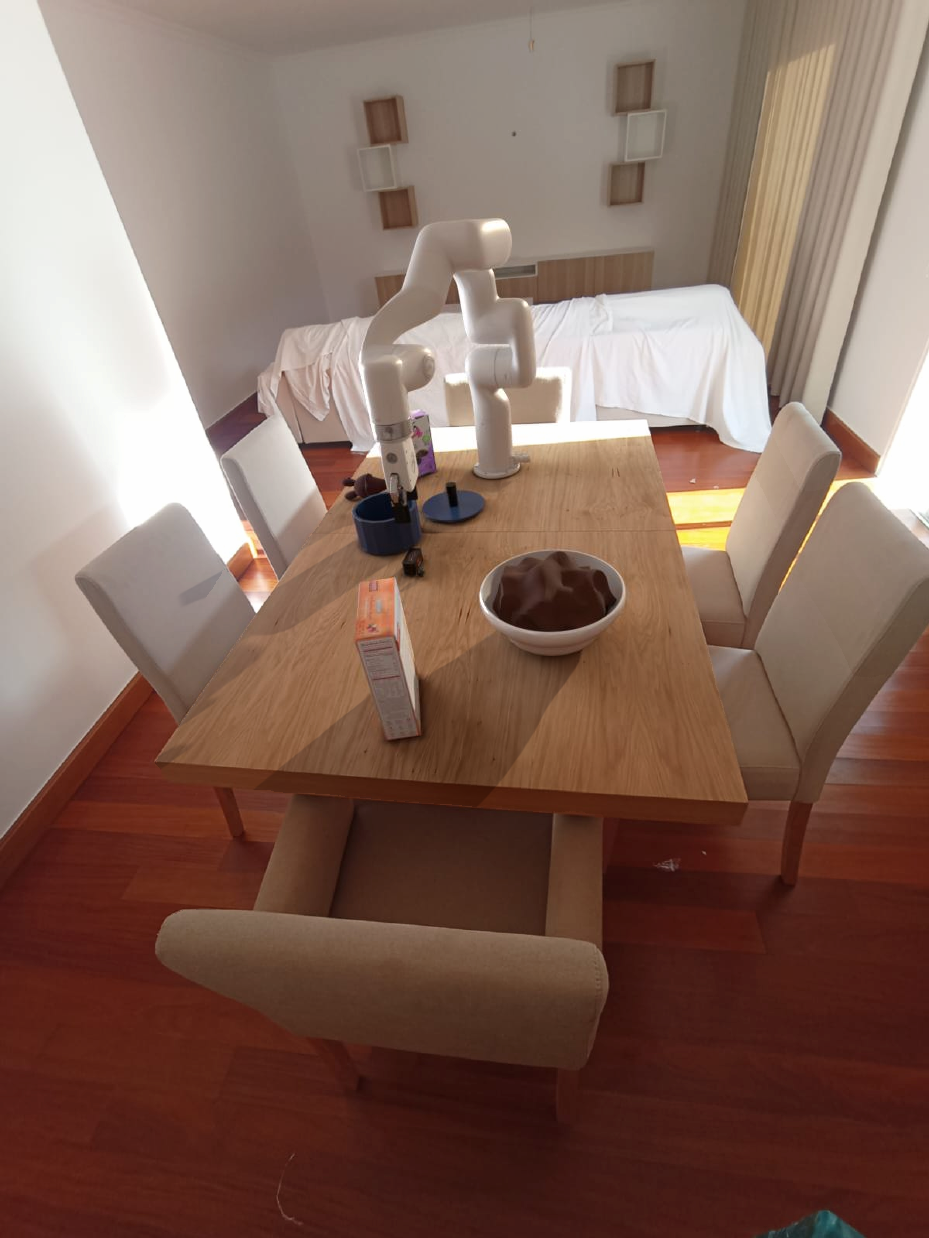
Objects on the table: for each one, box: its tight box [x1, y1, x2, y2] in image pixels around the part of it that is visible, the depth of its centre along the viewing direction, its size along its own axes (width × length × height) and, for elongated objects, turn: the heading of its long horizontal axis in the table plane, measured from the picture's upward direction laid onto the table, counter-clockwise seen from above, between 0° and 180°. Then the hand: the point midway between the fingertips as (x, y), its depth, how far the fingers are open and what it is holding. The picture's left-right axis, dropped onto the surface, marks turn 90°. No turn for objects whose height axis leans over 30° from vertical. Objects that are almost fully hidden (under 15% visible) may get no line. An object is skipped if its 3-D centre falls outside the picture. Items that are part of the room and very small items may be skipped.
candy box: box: [377, 408, 437, 479], centre depth 162 cm, size 14×6×16 cm, turn 119°
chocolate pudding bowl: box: [478, 549, 627, 657], centre depth 104 cm, size 25×25×15 cm
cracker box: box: [354, 576, 422, 741], centre depth 91 cm, size 14×6×21 cm, turn 5°
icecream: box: [340, 472, 388, 501], centre depth 157 cm, size 7×7×15 cm
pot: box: [351, 491, 423, 557], centre depth 138 cm, size 15×15×8 cm
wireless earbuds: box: [401, 547, 425, 578], centre depth 128 cm, size 5×7×3 cm, turn 167°
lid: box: [421, 481, 486, 523], centre depth 147 cm, size 16×16×7 cm
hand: (407, 511), depth 121 cm, fingers open, 9 cm apart
